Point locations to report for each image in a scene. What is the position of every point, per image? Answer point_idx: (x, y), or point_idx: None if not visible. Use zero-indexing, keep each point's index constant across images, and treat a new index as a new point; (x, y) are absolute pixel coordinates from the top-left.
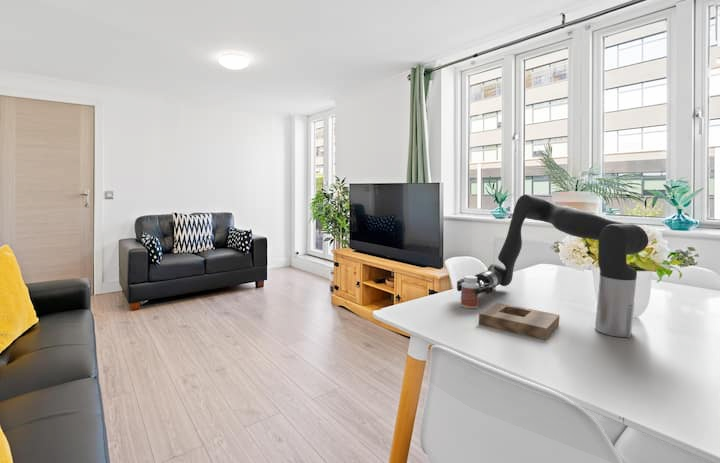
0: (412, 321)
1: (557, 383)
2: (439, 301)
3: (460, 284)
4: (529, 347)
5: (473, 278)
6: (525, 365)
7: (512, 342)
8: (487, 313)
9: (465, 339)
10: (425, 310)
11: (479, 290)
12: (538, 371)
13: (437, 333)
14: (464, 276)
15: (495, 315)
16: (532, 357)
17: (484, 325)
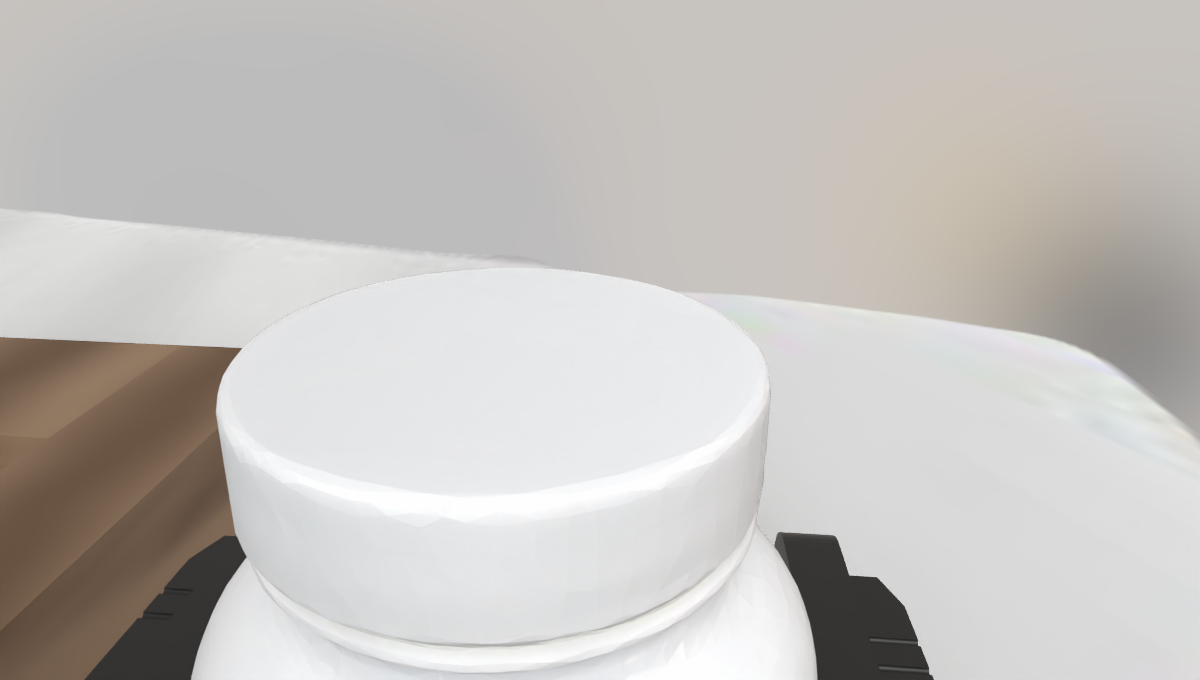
0: (781, 334)
1: (58, 228)
2: None
3: (844, 621)
4: (13, 330)
5: (374, 286)
6: (131, 252)
7: (104, 338)
8: (211, 372)
9: None
10: (917, 495)
11: (224, 551)
12: (93, 244)
13: None
14: (722, 320)
15: (133, 363)
16: (60, 284)
17: None
